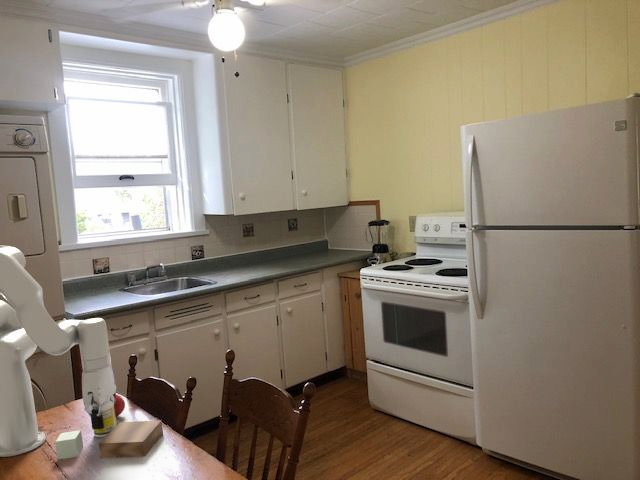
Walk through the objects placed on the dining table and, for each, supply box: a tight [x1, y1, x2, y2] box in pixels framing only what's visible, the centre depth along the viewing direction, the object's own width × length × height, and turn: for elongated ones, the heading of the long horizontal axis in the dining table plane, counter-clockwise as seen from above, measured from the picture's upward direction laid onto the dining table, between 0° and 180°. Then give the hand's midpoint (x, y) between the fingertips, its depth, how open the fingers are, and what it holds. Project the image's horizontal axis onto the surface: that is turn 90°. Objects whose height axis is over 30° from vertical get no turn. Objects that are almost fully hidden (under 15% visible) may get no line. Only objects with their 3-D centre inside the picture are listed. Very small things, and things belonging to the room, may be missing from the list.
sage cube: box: [54, 429, 84, 460], centre depth 138 cm, size 5×5×5 cm
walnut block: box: [97, 419, 164, 459], centre depth 139 cm, size 12×12×4 cm
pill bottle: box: [93, 395, 118, 438], centre depth 148 cm, size 6×6×11 cm
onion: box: [114, 392, 126, 419], centre depth 158 cm, size 6×6×8 cm
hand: (104, 422), depth 148 cm, fingers closed on pill bottle, 6 cm apart
